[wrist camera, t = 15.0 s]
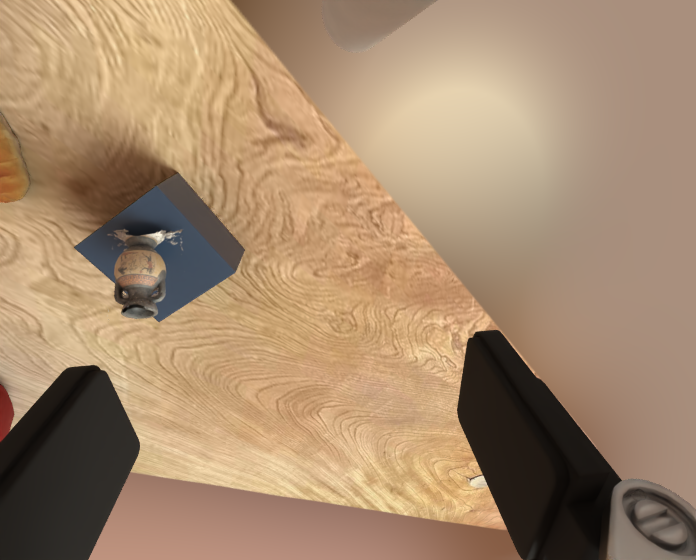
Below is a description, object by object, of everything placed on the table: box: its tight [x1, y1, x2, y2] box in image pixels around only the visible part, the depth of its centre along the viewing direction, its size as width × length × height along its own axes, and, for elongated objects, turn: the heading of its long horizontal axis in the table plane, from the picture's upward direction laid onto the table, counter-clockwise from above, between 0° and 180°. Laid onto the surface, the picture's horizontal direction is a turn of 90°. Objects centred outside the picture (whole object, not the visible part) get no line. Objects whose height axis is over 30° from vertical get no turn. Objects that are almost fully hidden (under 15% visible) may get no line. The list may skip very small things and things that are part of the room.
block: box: [74, 173, 245, 322], centre depth 32 cm, size 9×9×5 cm
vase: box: [107, 229, 183, 322], centre depth 27 cm, size 5×5×6 cm
